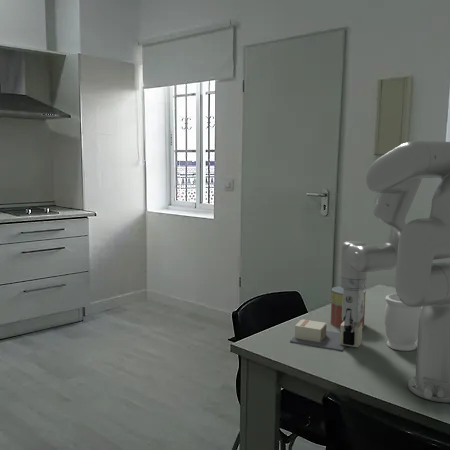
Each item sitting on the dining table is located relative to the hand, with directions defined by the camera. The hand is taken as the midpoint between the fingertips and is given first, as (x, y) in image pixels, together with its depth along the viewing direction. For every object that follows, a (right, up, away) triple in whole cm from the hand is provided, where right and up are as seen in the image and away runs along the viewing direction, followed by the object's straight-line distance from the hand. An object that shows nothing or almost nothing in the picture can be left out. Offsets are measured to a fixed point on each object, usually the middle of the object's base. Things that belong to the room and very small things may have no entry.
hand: (350, 340), depth 150 cm
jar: (+15, -2, -1) cm, 15 cm away
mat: (-8, -1, +4) cm, 9 cm away
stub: (0, -1, 0) cm, 1 cm away
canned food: (+4, +1, +19) cm, 19 cm away
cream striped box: (-11, -1, +6) cm, 13 cm away
